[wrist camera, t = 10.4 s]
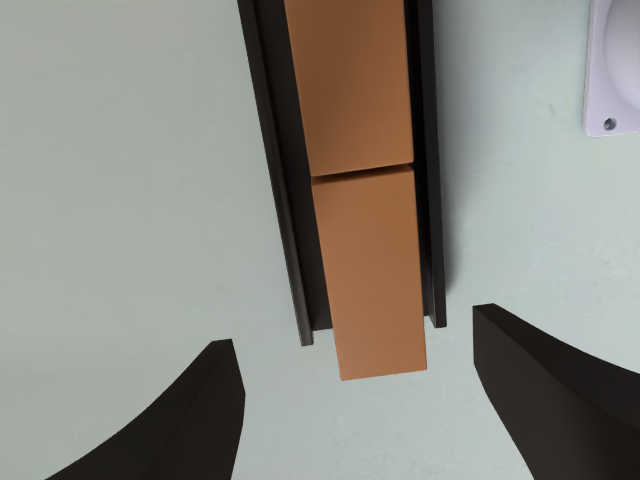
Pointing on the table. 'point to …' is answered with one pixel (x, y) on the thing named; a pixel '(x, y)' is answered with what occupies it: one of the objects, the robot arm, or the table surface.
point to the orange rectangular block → (372, 269)
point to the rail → (293, 166)
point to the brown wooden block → (352, 82)
